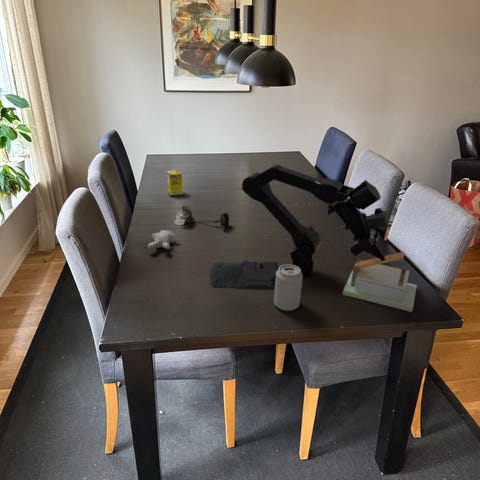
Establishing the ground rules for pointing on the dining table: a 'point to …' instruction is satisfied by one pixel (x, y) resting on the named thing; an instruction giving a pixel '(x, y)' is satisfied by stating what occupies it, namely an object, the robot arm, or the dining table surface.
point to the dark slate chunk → (244, 275)
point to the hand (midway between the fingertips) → (383, 258)
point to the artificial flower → (187, 215)
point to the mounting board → (404, 305)
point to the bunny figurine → (163, 239)
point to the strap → (378, 261)
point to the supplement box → (174, 183)
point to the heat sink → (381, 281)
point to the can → (288, 287)
